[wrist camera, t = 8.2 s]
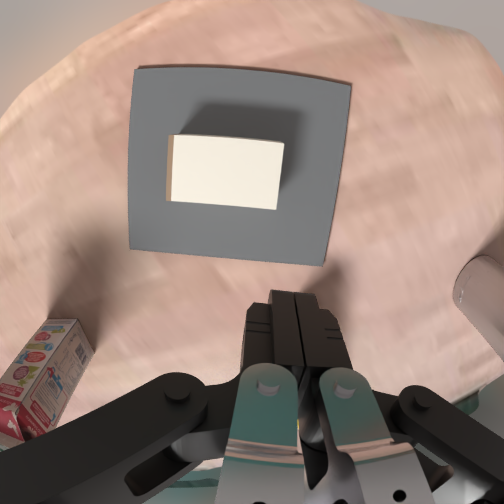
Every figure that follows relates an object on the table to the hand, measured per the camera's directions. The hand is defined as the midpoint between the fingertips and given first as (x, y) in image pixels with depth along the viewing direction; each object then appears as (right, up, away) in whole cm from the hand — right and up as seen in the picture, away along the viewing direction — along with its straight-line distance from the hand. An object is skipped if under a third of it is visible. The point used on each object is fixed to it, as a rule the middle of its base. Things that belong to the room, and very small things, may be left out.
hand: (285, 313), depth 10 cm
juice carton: (-29, -11, +29) cm, 42 cm away
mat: (-3, +11, +19) cm, 22 cm away
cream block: (+1, +9, +17) cm, 20 cm away
